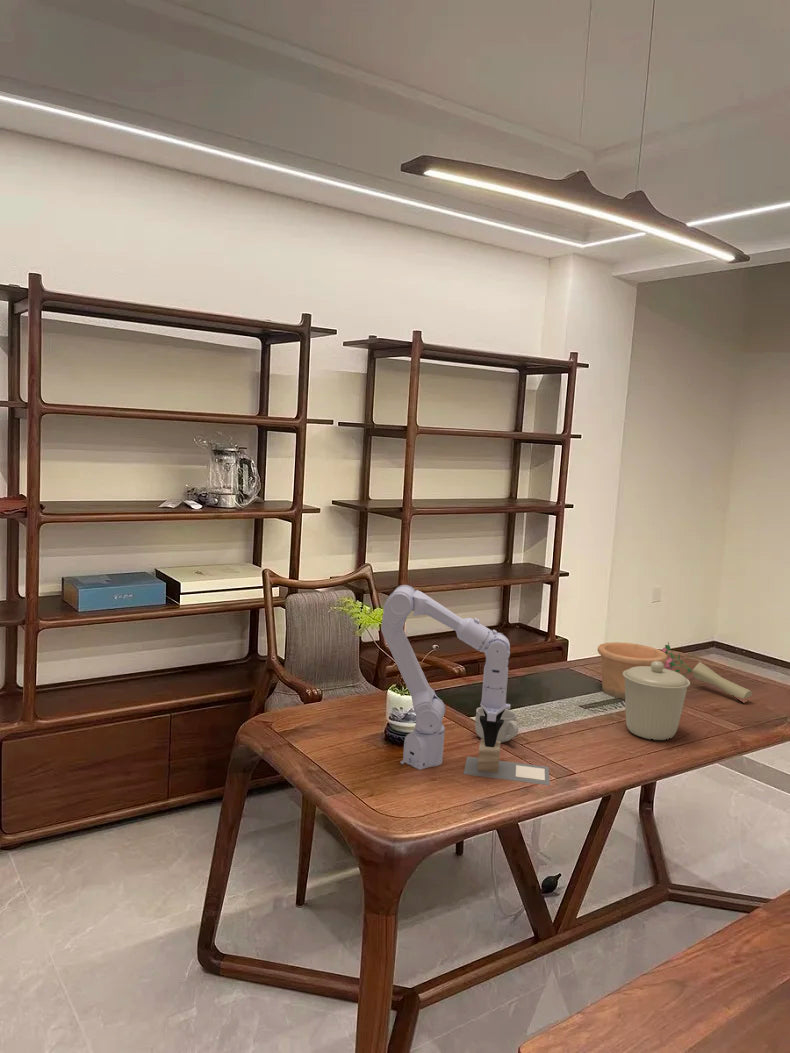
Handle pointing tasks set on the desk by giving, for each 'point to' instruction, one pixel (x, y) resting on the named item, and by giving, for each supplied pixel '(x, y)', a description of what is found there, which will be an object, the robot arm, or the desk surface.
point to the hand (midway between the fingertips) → (490, 740)
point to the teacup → (506, 730)
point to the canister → (654, 700)
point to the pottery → (624, 663)
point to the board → (511, 771)
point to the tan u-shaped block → (488, 757)
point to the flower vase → (708, 676)
